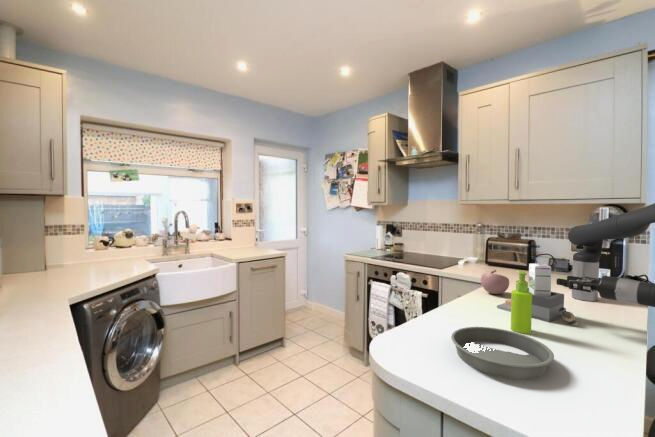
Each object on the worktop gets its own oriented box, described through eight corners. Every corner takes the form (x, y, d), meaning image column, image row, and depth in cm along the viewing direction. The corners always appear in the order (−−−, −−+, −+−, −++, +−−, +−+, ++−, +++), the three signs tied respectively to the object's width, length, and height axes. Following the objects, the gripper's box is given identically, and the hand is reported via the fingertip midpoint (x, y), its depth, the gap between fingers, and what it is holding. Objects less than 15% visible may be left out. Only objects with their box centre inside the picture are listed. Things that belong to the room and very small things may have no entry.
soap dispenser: (527, 327, 108) (528, 270, 108) (533, 334, 102) (535, 274, 101) (508, 325, 110) (509, 268, 110) (512, 332, 104) (514, 272, 103)
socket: (512, 303, 135) (512, 283, 135) (563, 316, 119) (564, 294, 119) (496, 307, 129) (497, 287, 129) (548, 322, 113) (549, 299, 113)
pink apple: (509, 292, 152) (510, 269, 151) (508, 298, 142) (508, 273, 141) (482, 289, 158) (482, 266, 158) (479, 294, 148) (479, 270, 148)
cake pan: (577, 375, 78) (578, 357, 78) (498, 391, 71) (499, 372, 71) (498, 336, 102) (498, 322, 101) (433, 345, 95) (433, 330, 94)
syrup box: (551, 304, 118) (552, 266, 117) (533, 303, 119) (534, 265, 118) (544, 300, 123) (545, 263, 123) (527, 299, 124) (528, 263, 124)
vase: (562, 326, 109) (561, 309, 110) (555, 322, 115) (555, 305, 115) (580, 327, 108) (579, 310, 108) (573, 323, 113) (572, 306, 113)
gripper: (628, 275, 104) (570, 267, 118) (613, 280, 97) (553, 271, 110) (627, 297, 105) (570, 287, 118) (612, 304, 97) (552, 292, 111)
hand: (562, 279), depth 114 cm, fingers open, 8 cm apart
